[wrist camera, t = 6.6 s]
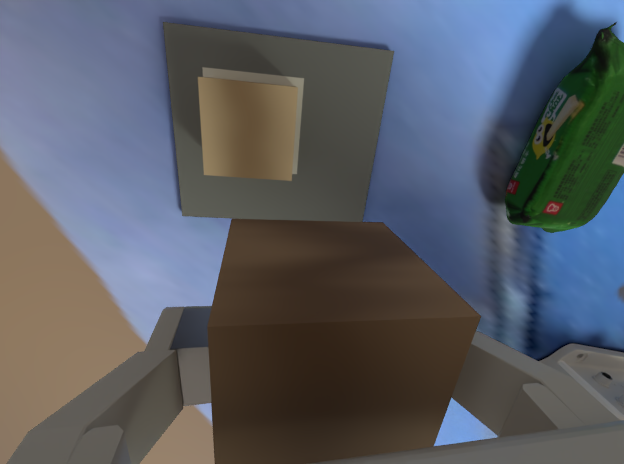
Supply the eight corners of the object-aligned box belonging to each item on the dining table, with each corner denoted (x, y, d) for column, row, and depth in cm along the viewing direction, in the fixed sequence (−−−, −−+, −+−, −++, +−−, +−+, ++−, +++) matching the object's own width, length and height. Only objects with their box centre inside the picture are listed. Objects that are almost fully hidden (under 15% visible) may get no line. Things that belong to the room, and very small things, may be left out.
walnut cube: (382, 222, 10) (480, 316, 6) (361, 337, 12) (421, 477, 8) (231, 218, 9) (207, 326, 5) (233, 344, 11) (217, 506, 7)
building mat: (391, 51, 22) (394, 50, 22) (360, 222, 29) (362, 225, 28) (165, 23, 20) (162, 21, 20) (184, 213, 27) (182, 216, 26)
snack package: (640, 50, 24) (725, 42, 20) (543, 225, 31) (589, 250, 26) (564, 30, 23) (635, 17, 19) (481, 216, 30) (517, 240, 25)
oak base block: (295, 86, 22) (298, 87, 19) (290, 166, 25) (291, 180, 21) (211, 77, 22) (197, 76, 18) (215, 161, 24) (203, 174, 21)
